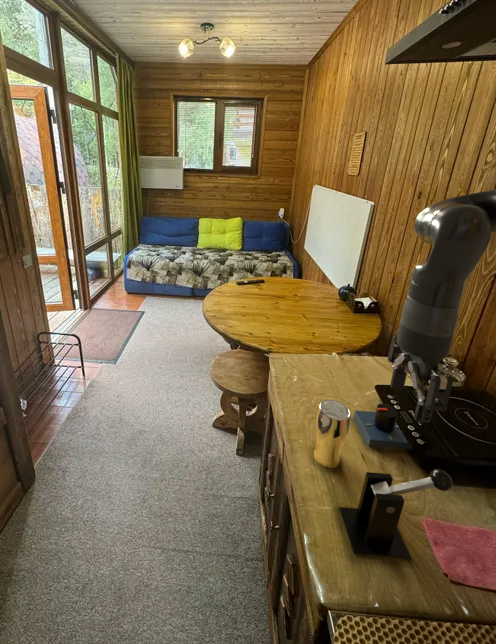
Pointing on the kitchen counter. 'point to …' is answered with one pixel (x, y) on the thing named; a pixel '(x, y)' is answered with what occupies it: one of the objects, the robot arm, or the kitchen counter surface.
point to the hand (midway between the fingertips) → (407, 403)
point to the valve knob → (385, 418)
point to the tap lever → (416, 484)
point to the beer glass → (331, 431)
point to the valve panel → (378, 432)
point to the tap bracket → (375, 521)
